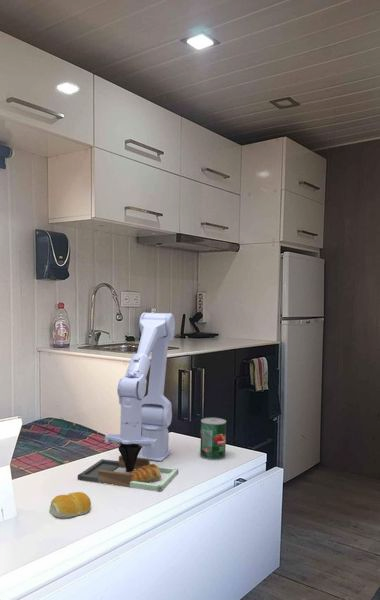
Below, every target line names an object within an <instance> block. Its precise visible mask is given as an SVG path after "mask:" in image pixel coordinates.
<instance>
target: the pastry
mask: <svg viewBox="0 0 380 600" xmlns="http://www.w3.org/2000/svg"><path fill="white" fill-rule="evenodd" d="M158 466H159V465H157V464H155V463H150V464H149V465H144V466H140V467H138V468H137V469H134V471H131V472H130V473H129V472H128V473H129V474H132V481H137V482H144V483H150V482H151V483H155V481H156V482H159V481H160V480H161V479H162V474H161V473H162V472H160V471H159V468H158Z"/></svg>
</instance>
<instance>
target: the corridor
mask: <svg viewBox="0 0 380 600" xmlns="http://www.w3.org/2000/svg"><path fill="white" fill-rule="evenodd" d="M118 461H119V467H118V468H123V469H124V468H125V469H126V467H125V463H124V460H123V457H122V455H121V454H120V455H119V456H118ZM149 464H151V460H150V459H147V458H139V457H137V459H136V462H135V466H134V470H135V469H137V468H138V467H140V466H144V465H149ZM131 481H132V474H129V472H121V471H115V470H114V471H106V470H99V471H98V483H99V484H104V483H106V485H111V484H113V485H112V486H118V487H120V486H121V487H126V488H131V487H130V482H131ZM98 483H97V484H98Z"/></svg>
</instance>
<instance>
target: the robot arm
mask: <svg viewBox="0 0 380 600" xmlns="http://www.w3.org/2000/svg"><path fill="white" fill-rule="evenodd" d="M174 316H175V315H173V314H172V313H171V312H169V313H167V312H166V313H164V312H161V313H159V312H142V314H141V315H140V317H139V323H138V326H139V330H140V340H139V343H138V348H137V351H136V353H135V354H133V355H132V356H131V357H130V361H129V364H128V366H127V369H126V371H125V375H124V376H123V378H120V379H119V380H118V383H117V388H116V389H117V392H116V393H117V396H118V404H119V405H120V426H119V427H120V429H119V430H120V431H119V434H118V433H115V434H114V433H113V434H111V433H107V434H106V435H104V443H105V444H109V443H111V444H112V443H113V444H120V445H119V446H118V451H119V453H120V455H122V457H123V460H124V463H125V467H126V468H125V473H130V472H131V471H134V470H135V469H134V466H135V462H136V459H137V457H139V458H147V459H150V461H155V462H162V461H163V460H165V459H166V457H168V456H169V455H170V454H171V453H172V451H171V450H169V440H170V439H169V437H170V436H169V434H170V433H169V432H170V431H169V430H168V428H169V426H170V425H171V423H172V418H173V411H172V402H171V401H170V400H169V399H168V398H167V397H166V396H165V395H164V391H165V384H166V383H165V382H166V381H165V380H166V371H167V360H168V350H169V343H170V342H172V341H173V340H174V337H175V329H176V327H175V326H176V321H175V317H174ZM150 356H151V358H150ZM148 373H149V378H148V379H149V380H148V381H147V376H148ZM147 383H148V389H147ZM146 391H147V395H146ZM140 452H141V453H140Z"/></svg>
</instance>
